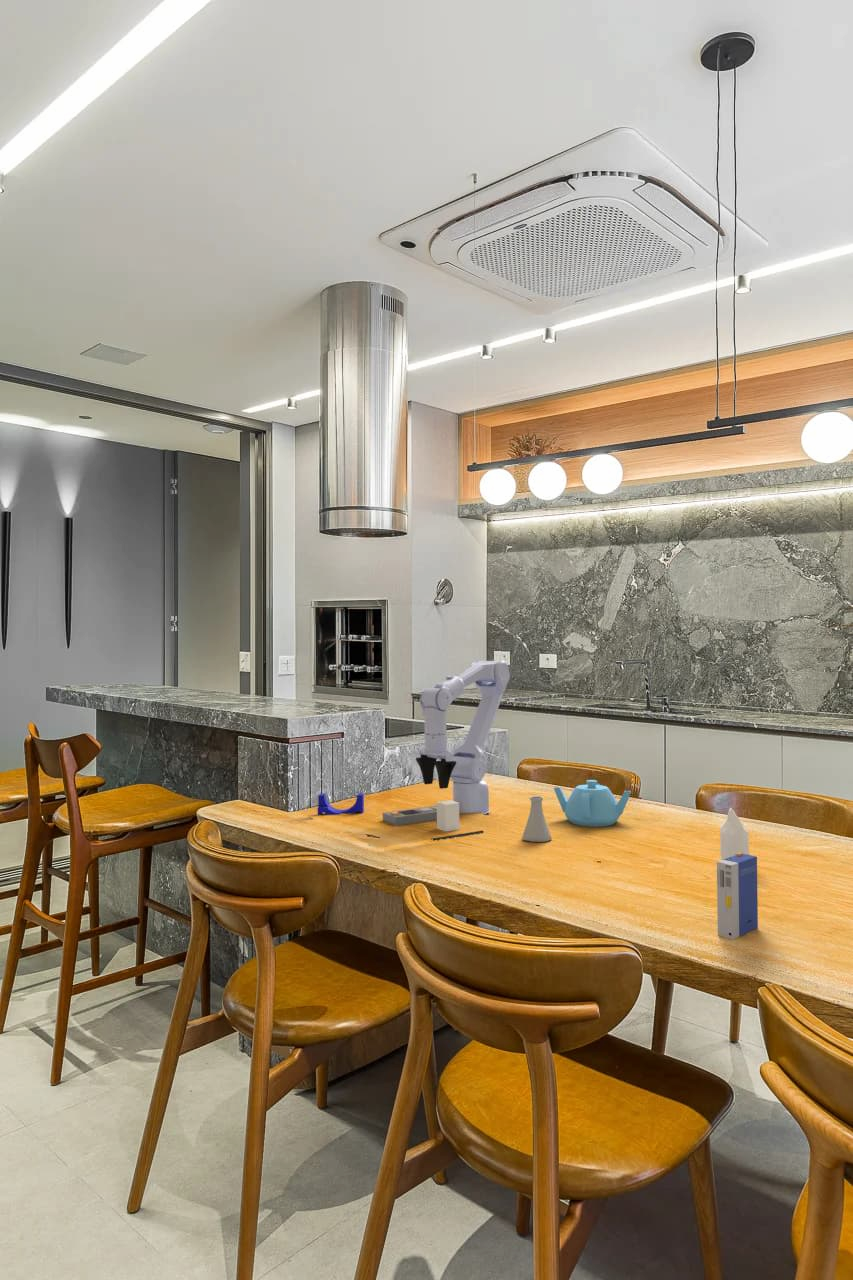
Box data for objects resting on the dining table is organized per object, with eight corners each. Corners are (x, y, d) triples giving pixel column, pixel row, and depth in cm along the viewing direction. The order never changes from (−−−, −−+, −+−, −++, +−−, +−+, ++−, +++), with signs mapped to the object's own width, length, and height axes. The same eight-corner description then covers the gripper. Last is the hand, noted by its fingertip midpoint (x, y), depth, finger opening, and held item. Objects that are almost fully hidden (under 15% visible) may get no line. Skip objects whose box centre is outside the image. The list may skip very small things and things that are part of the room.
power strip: (441, 816, 221) (441, 803, 221) (455, 820, 215) (455, 807, 215) (382, 824, 211) (382, 811, 211) (395, 829, 205) (395, 815, 205)
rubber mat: (461, 825, 209) (461, 823, 209) (483, 833, 200) (483, 831, 200) (413, 832, 202) (413, 830, 202) (435, 840, 193) (434, 838, 193)
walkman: (742, 923, 135) (741, 851, 135) (758, 928, 132) (757, 854, 132) (716, 935, 129) (715, 859, 130) (732, 940, 127) (731, 863, 127)
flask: (555, 837, 195) (555, 795, 195) (547, 844, 189) (546, 801, 189) (526, 834, 198) (526, 793, 198) (517, 841, 192) (516, 798, 192)
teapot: (550, 818, 216) (550, 778, 216) (598, 813, 222) (597, 773, 222) (584, 831, 202) (583, 787, 202) (633, 824, 208) (633, 782, 208)
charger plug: (450, 828, 204) (450, 800, 204) (459, 831, 200) (459, 802, 200) (437, 830, 202) (436, 801, 202) (445, 833, 198) (445, 804, 198)
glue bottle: (753, 811, 165) (725, 811, 165) (754, 870, 165) (726, 870, 165) (742, 805, 171) (715, 805, 171) (743, 862, 171) (716, 862, 171)
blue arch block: (317, 819, 220) (317, 796, 220) (320, 815, 224) (320, 793, 224) (362, 818, 219) (361, 796, 219) (363, 815, 224) (363, 793, 224)
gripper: (408, 732, 218) (408, 783, 217) (437, 737, 205) (437, 791, 205) (431, 730, 221) (431, 781, 221) (460, 735, 209) (461, 788, 209)
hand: (435, 786), depth 213 cm, fingers open, 7 cm apart
